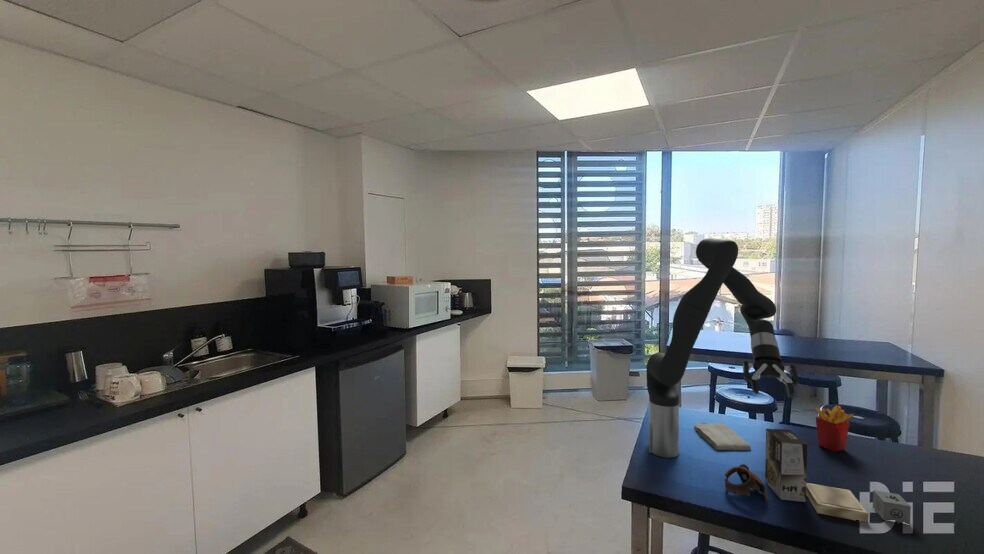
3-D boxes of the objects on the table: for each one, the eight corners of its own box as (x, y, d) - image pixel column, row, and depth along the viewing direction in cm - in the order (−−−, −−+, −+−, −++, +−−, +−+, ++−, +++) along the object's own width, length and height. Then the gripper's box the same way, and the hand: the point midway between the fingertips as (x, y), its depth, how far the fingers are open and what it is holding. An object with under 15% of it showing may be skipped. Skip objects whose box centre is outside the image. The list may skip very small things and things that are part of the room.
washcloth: (722, 428, 150) (722, 420, 150) (752, 452, 132) (752, 443, 132) (691, 428, 150) (691, 420, 150) (717, 452, 132) (717, 443, 132)
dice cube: (909, 525, 95) (910, 506, 95) (882, 520, 97) (883, 501, 97) (898, 513, 100) (898, 494, 100) (872, 508, 102) (873, 490, 101)
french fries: (813, 444, 135) (814, 402, 134) (830, 441, 137) (832, 399, 136) (842, 457, 127) (844, 412, 126) (860, 453, 129) (862, 408, 128)
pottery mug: (774, 511, 102) (759, 485, 102) (736, 515, 107) (721, 491, 106) (764, 476, 113) (751, 453, 112) (730, 481, 117) (716, 459, 117)
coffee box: (807, 502, 104) (808, 444, 104) (780, 500, 106) (781, 442, 105) (788, 482, 113) (790, 429, 112) (763, 480, 115) (765, 427, 114)
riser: (817, 513, 100) (817, 503, 100) (803, 490, 110) (804, 481, 109) (867, 522, 96) (868, 512, 96) (849, 499, 106) (849, 489, 105)
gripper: (741, 341, 130) (748, 386, 121) (793, 344, 125) (805, 391, 115) (738, 353, 136) (744, 397, 126) (788, 356, 130) (798, 402, 120)
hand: (773, 394), depth 120 cm, fingers open, 8 cm apart
